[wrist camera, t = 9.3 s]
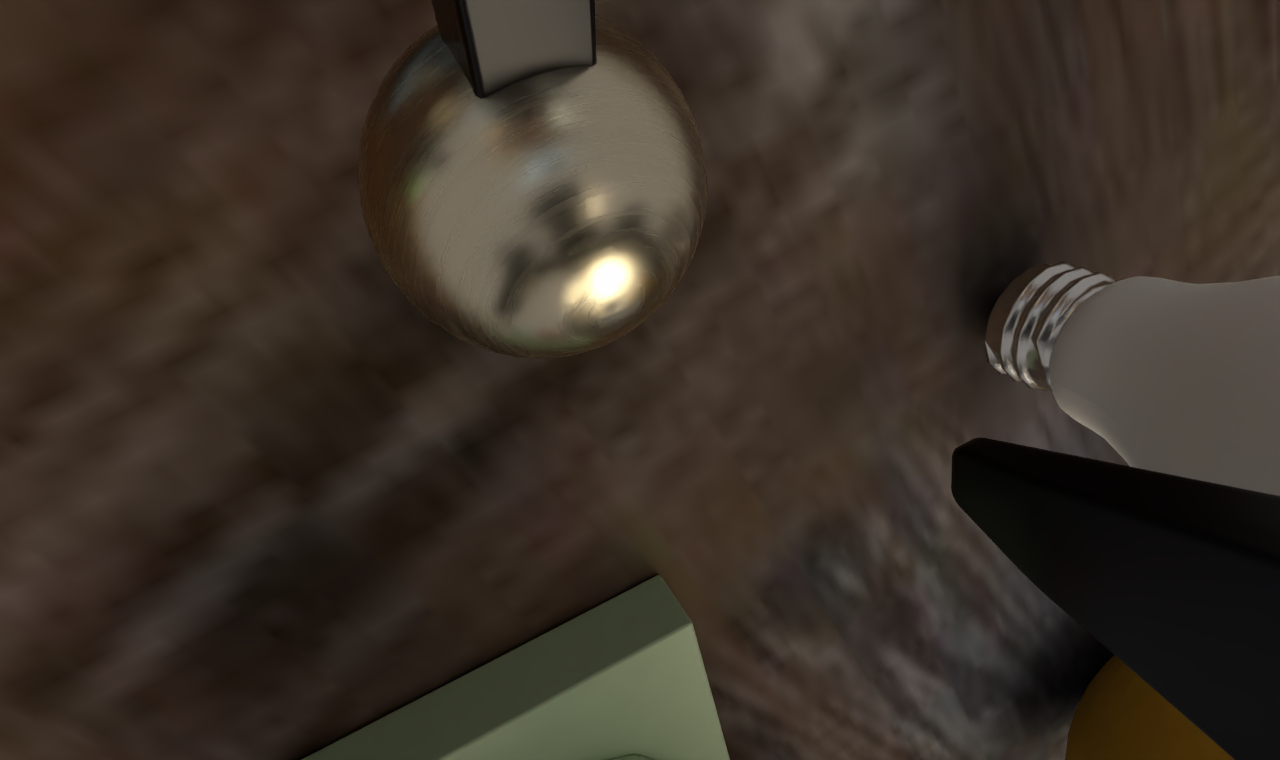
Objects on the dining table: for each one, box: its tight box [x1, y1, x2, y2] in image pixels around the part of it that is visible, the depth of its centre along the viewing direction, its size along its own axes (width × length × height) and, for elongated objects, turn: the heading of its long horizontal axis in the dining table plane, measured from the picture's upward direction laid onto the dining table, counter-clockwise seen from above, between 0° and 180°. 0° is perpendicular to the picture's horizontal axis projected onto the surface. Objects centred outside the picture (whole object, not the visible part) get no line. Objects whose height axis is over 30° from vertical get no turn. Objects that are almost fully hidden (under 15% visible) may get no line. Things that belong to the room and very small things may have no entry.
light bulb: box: [985, 262, 1280, 496], centre depth 13 cm, size 7×7×11 cm
